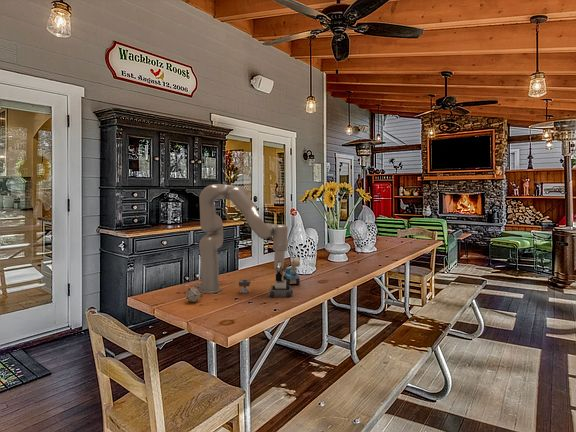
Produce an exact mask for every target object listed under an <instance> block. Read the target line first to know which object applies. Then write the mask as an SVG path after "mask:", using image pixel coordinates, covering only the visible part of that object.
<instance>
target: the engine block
mask: <svg viewBox="0 0 576 432" xmlns="http://www.w3.org/2000/svg"><path fill="white" fill-rule="evenodd" d="M274 285H275V290H286V280H283V279H282V281H276V279H275V280H274Z"/></svg>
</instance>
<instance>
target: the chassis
mask: <svg viewBox="0 0 576 432" xmlns="http://www.w3.org/2000/svg"><path fill="white" fill-rule="evenodd" d="M293 293H294V289H292V284H289V285H286V290H275V284H273V285H270V289H269V290H268V294H267V296H268V298H269V297H270V298H274V297H275V298H278V297H281V298H282V297H285V298H293V296H294V294H293Z"/></svg>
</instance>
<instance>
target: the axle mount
mask: <svg viewBox="0 0 576 432" xmlns="http://www.w3.org/2000/svg"><path fill="white" fill-rule="evenodd" d="M249 293H250V288H248V287H247V286H242V288H240V294H242V295H246V294H249Z"/></svg>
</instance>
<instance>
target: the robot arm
mask: <svg viewBox="0 0 576 432" xmlns="http://www.w3.org/2000/svg"><path fill="white" fill-rule="evenodd" d="M198 200H199V219H200V220H199V222H200V229H201V230H202V231H203V232H204V233H207V234H206V235H204V236H202V238H200V240H199V245H198V247H199V254H200V270H201V271H200V274H201V282H199V283H198V282H194V283H193V284H194V286H193V287H195V288H198V287H199V288H198V289H199V290H200V291H199V292H200V294H201V293H202V294H216V293H219V292H222V290H223V289H222V288H223V287H222V286H220V277H219V276H220V275H219V274H220V272H219V268H220V267H219V254H218V249H219V248H221V247H222V246H223V242H224V224H223V219H222V218H221V216H220V215H218V214H217V213H216V204H215V201H217V200H228V201H231V202H232V204H233V205H234V206H235V207H236V208H237V209H238V210H239V212H240V214H242V215H243V217H244V218H245V221H246V223H247V224H248V225H249V227H250V229H251V230H252V231H253V232H254V234H255V235H256V236H257V237H259V238H260V239H261V240H267V239H269V238H270V237H272V238H273V242H272V251H274V263H273V269H274V270H276V272H275V280H276V281H282V280H283V278H282V277H283V276H284V272H283V270H284V264H285V255H286V254H285V252H287V251H288V233H289V232H288V231H289V230H288V229H289V228H288V226H287V224H283V223H282V224H275V223H270V222H264V221H263V219H262V218H261V216H260V214H259V212H258V208H257V205H256V203H254V201H252V199H251V198H250V197H249V196H248V191H247V189H246V188H245V187H244V186H242V185H232V184H224V183H214V184H209V185H207V186H205V187H204V188H203V189H202V190H201V192H200V195H199V199H198Z"/></svg>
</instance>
